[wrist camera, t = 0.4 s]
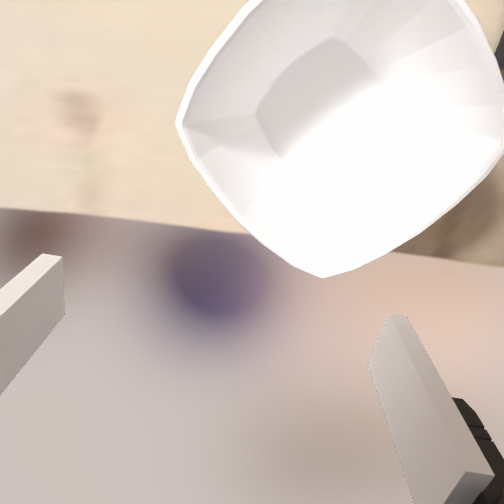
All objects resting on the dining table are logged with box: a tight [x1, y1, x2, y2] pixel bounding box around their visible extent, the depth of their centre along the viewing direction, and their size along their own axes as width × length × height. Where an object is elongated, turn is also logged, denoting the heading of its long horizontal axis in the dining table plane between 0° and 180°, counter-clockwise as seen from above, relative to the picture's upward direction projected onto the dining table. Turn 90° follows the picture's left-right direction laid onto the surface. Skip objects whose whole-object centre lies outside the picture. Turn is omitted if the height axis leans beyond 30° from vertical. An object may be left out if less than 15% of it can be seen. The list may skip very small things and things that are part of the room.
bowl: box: [175, 0, 504, 278], centre depth 34 cm, size 22×22×12 cm
